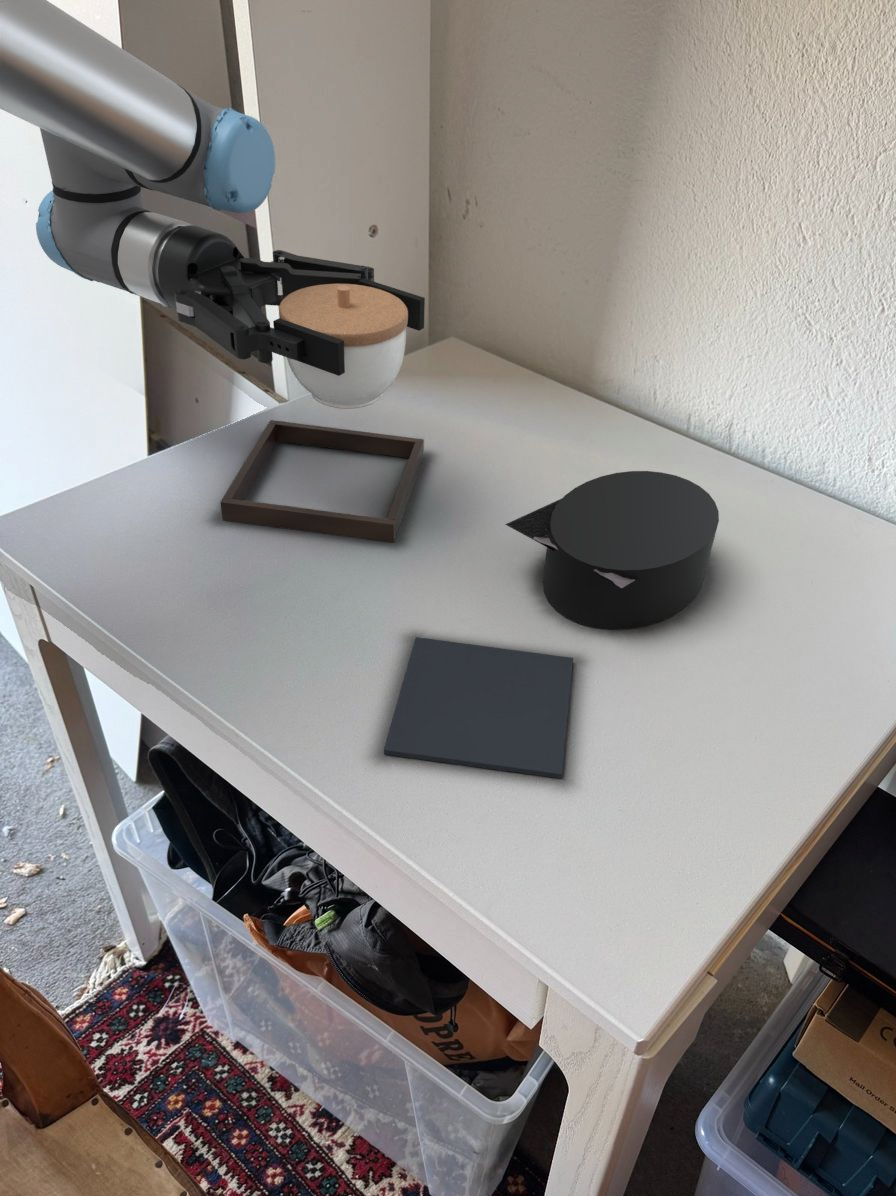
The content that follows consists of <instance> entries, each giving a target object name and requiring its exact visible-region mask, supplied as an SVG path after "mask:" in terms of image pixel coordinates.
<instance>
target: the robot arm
mask: <svg viewBox="0 0 896 1196" xmlns="http://www.w3.org/2000/svg"><path fill="white" fill-rule="evenodd" d="M0 110H3V111H4V112H6V113H8V114H10V115H12V116H15V117H16V118H19V119H20V120H23V121H25V122H27V123H29V124H30V125H33V126H35V127H38V128H39V130H40V135H41V139H42V143H43V144H42V145H43V148H44V153H45V157H46V162H47V166H48V171H49V175H50V179H51V184H52V185H51V186H52V190H50V191H49V192H48V193H46V195H45V196H44V197H43V198H42V200H41V202H40V203H39V206H38V209H37V212H38V215H37V221H36V223H35V231H36V237H37V240H38V243H39V245H40V247H41V249H42V251H43V252H44V254H45V255H46V256H47V257H48V259H49V260H51V261H52V262H53V263H54V264H56V265H57V266H59V267H60V268H63V269H66V270H68V271H70V272H72V273H74V274H75V275H77V276H78V277H80V278H82V279H84V280H87V281H90V282H96V283H101V284H104V285H107V286H109V287H113V288H115V289H119V290H122V291H125V292H128V293H129V294H131V295H135V296H138V297H141V298H144V299H147V300H150V301H151V302H154V303H158V304H160V305H162V306H163V307H164V308H171V309H174V310H175V311H176V314H177V321H178V322H180V323H182V324H186V325H189V326H192V327H195V328H196V329H198V330H199V331H200V332H202V333H203V334H204V335H206V336H207V337H208V338H210V339H211V340H213V341H214V342H215V343H216V344H218V345H219V346H221V347H222V348H223V349H225V350H226V351H228V352H229V353H230V354H232V355H233V356H234V357H236V358H237V359H240V360H248V359H250V358H252V353H253V352H257V361H258V362H259V363H262V364H267V363H271V362H273V361H274V357H273V354H276V355H279V356H282V357H285V358H286V359H287V358H290V359H294V360H296V361H299V362H302V363H305V364H307V365H310V366H313V367H316V368H318V369H321V370H324V371H327V372H329V373H332V374H335V375H338V376H340V375H342V374H343V373H345V364H344V340H341V339H338V338H335V337H332V336H329V335H326V334H323V333H321V332H318V331H315V330H312V329H309V328H306V327H303V326H300V325H298V324H295V323H292V322H289V321H286V320H283V319H280V317H279V318H277V319H274V320H273V322H272V323H273V327H272V326H271V321H270V320H269V319H268V317H267V316H266V315H265V313H263V311H262V310H261V309H262V308H263V307H264V306H277V307H279V306H280V303H281V302H282V300H283V299H284V298H285V297H286V296H288V295H289V294H291V293H293V292H295V291H297V290H300V289H302V288H306V287H310V286H316V285H323V284H355V285H362V286H368V287H373V288H376V289H380V290H383V291H386V292H388V293H390V294H392V295H394V296H396V297H397V298H399V299H400V300H401V301H402V302H403V303H404V304H405V306H406V307H407V310H408V323H407V326H406V328H409V329H413V330H416V331H419V332H420V331H421V330H424V329H425V306H426V303H425V302H426V298H425V297H424V296H420V295H418V294H414V293H411V292H408V291H405V290H402V289H399V288H396V287H392V286H390V285H386V284H383V283H380V282H376V281H375V268H374V267H371V266H366V265H361V264H354V263H348V262H341V261H335V260H328V259H322V258H316V257H309V256H303V255H298V254H295V253H291V252H288V251H285V250H281V249H275V250H273V251H272V261H263V260H261V259H260V258H257V257H245V256H244V255H243V254H242V252H241V250H239V248H238V247H237V245H236V244H235V243H234V241H233V240H231V239H230V237H228V236H226V235H225V234H223V233H220V232H216V231H213V230H211V229H207V228H204V227H201V226H198V225H193V224H192V223H189V222H186V221H184V220H180V219H177V218H173V217H171V216H167V215H164V214H161V213H157V212H153V211H150V210H149V209H146V208H144V206H143V199H142V193H141V191H142V188H143V189H147V190H149V191H156V192H159V193H163V194H166V195H169V196H172V197H176V198H179V199H183V200H186V201H189V202H191V203H196V204H199V205H203V206H206V207H209V208H212V210H214V211H218V212H219V211H227V212H231V213H236V214H248V213H251V212H254V211H255V210H257V209H258V208H259V207H261V205H262V204H263V203H264V202H265V200H266V199H267V197H268V195H269V193H270V191H271V189H272V184H273V178H274V174H275V173H276V154H275V153H276V152H275V147H274V143H273V141H272V138H271V135H270V133H269V131H268V130H267V128H266V127H265V126H264V124H263V123H262V122H261V121H259V120H258V118H255V117H253V116H250V115H248V114H244V113H242V112H238V111H237V110H236V109H235V108H233V107H232V108H231V107H226V108H223V107H219V106H216V105H214V104H211V103H209V102H207V101H205V100H204V99H203V98H201V97H199V96H197V95H196V94H194V93H193V92H192V91H190V90H189V89H187V88H185V87H182V86H181V85H180V84H177V83H176V82H175V81H173V80H172V79H170V78H169V77H167V76H165V75H164V74H163V73H161V72H159V71H158V70H156V69H154V68H153V67H151V66H150V65H148V64H146V62H144V61H142V60H140V59H139V58H137V57H136V56H134V55H133V54H131V53H130V52H128V51H126V50H125V49H123V48H122V47H120V46H119V45H117V44H115V43H114V42H112V41H111V40H110V39H108V38H106V37H105V36H103V35H102V34H100V33H98V32H97V31H95V30H94V29H92V28H91V27H89V26H87V25H86V24H84V23H83V22H81V21H80V20H78V19H77V18H75V17H73V16H72V15H71V14H69V13H67V12H66V11H64V10H63V9H61V8H59V7H58V6H56V5H55V4H53V3H52V2H51V1H49V0H0ZM278 282H279V283H278ZM279 284H280V285H281V291H282V293H281V294H279V286H278V285H279Z"/></svg>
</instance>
